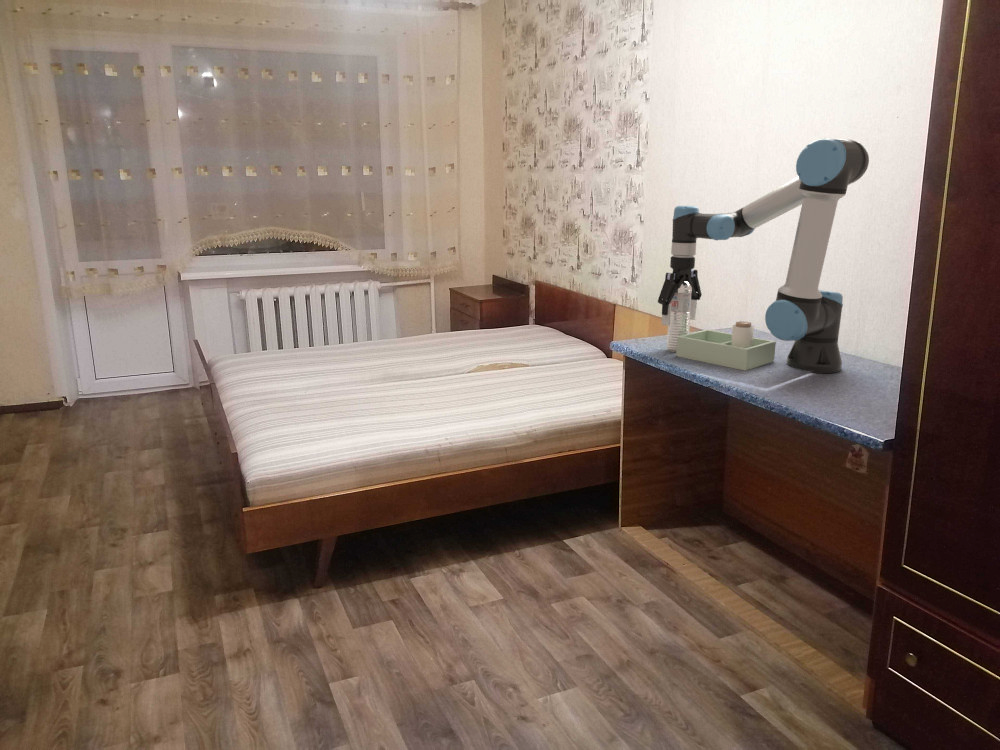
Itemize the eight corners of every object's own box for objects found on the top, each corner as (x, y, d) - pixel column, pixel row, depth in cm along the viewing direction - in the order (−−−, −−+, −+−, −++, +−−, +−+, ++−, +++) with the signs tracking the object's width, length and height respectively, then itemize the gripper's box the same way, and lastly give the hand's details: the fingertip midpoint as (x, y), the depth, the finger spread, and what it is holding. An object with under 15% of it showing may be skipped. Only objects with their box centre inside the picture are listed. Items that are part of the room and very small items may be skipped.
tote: (773, 363, 228) (775, 341, 226) (745, 373, 217) (747, 349, 216) (705, 350, 245) (706, 329, 243) (676, 358, 235) (677, 336, 233)
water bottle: (690, 353, 242) (695, 275, 235) (668, 353, 242) (673, 275, 235) (685, 348, 248) (690, 272, 242) (664, 348, 248) (668, 272, 242)
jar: (754, 362, 227) (758, 322, 224) (743, 365, 223) (747, 325, 220) (736, 358, 231) (740, 320, 228) (726, 361, 227) (729, 322, 224)
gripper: (695, 252, 248) (691, 315, 253) (648, 257, 232) (645, 325, 237) (715, 254, 242) (710, 318, 248) (668, 260, 226) (664, 329, 232)
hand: (678, 322), depth 243 cm, fingers open, 13 cm apart
